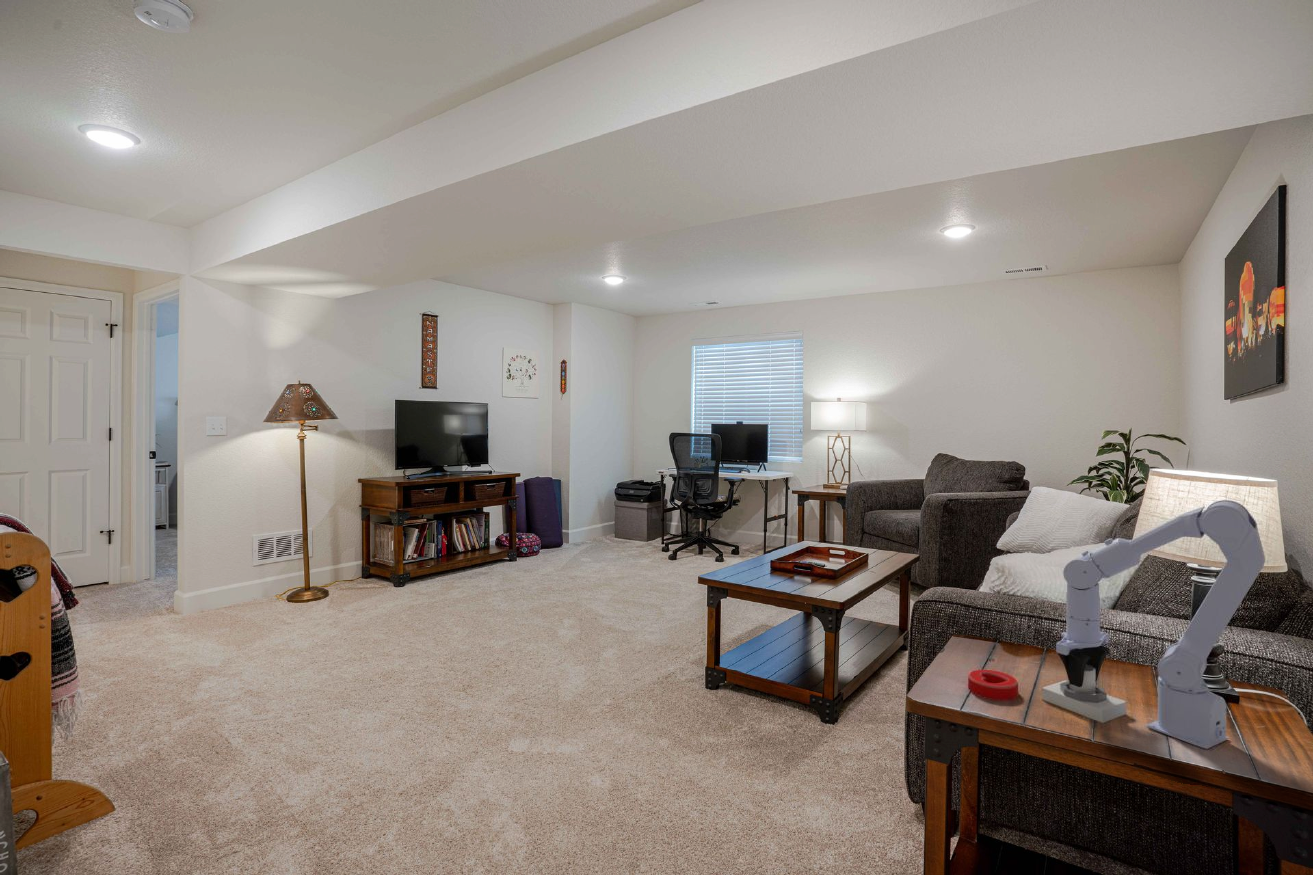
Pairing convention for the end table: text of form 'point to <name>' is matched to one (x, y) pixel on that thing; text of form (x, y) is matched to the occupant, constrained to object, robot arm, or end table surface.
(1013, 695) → the decorative ornament
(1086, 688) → the lens
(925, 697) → the end table surface
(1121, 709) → the plate with octagonal ring
